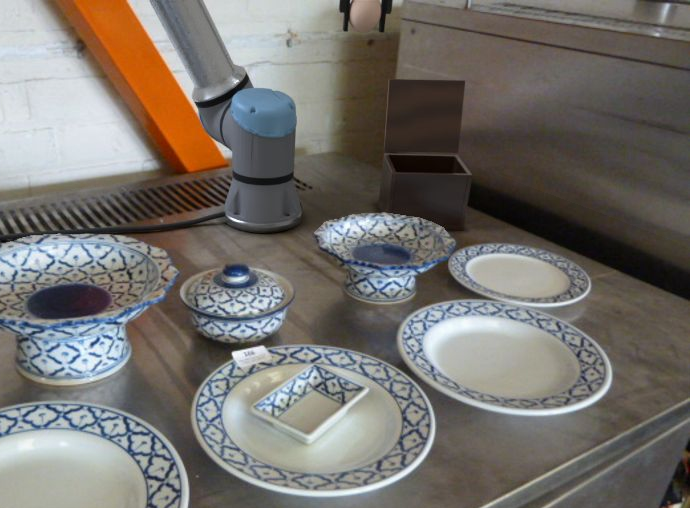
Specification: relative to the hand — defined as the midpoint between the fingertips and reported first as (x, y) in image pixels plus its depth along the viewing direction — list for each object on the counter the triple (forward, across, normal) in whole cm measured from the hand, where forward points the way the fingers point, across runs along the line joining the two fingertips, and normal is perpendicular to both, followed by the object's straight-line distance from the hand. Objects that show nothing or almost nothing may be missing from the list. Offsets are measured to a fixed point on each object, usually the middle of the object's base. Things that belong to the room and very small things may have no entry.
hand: (363, 31), depth 133 cm
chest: (+31, +12, -21) cm, 40 cm away
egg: (0, 0, 0) cm, 0 cm away
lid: (+14, +12, -14) cm, 23 cm away
